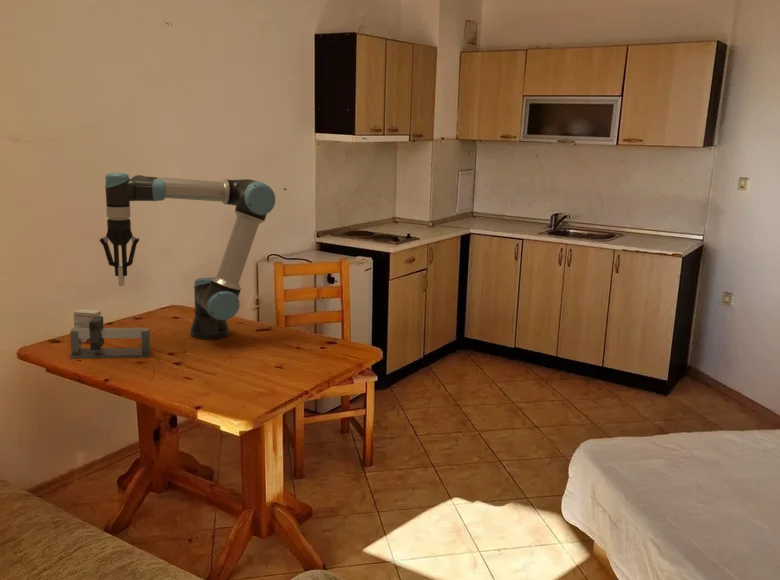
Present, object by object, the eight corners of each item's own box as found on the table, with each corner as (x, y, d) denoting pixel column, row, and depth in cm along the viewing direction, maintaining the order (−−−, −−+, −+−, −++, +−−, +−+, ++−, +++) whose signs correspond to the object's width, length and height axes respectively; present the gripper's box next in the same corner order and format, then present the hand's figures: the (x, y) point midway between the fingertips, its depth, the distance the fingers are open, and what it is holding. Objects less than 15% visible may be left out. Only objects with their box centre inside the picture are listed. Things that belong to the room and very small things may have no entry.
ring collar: (104, 342, 248) (103, 316, 246) (99, 350, 240) (98, 322, 238) (95, 343, 247) (94, 316, 245) (90, 350, 240) (89, 322, 237)
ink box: (103, 339, 260) (101, 310, 258) (96, 343, 256) (95, 313, 253) (81, 338, 261) (79, 308, 258) (74, 341, 256) (72, 311, 254)
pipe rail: (151, 350, 252) (150, 325, 250) (148, 357, 244) (147, 331, 242) (75, 351, 247) (74, 325, 244) (70, 358, 239) (68, 331, 237)
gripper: (140, 217, 240) (142, 282, 245) (100, 216, 237) (104, 282, 243) (137, 220, 233) (139, 287, 238) (96, 219, 230) (99, 287, 236)
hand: (121, 285), depth 240 cm, fingers closed
